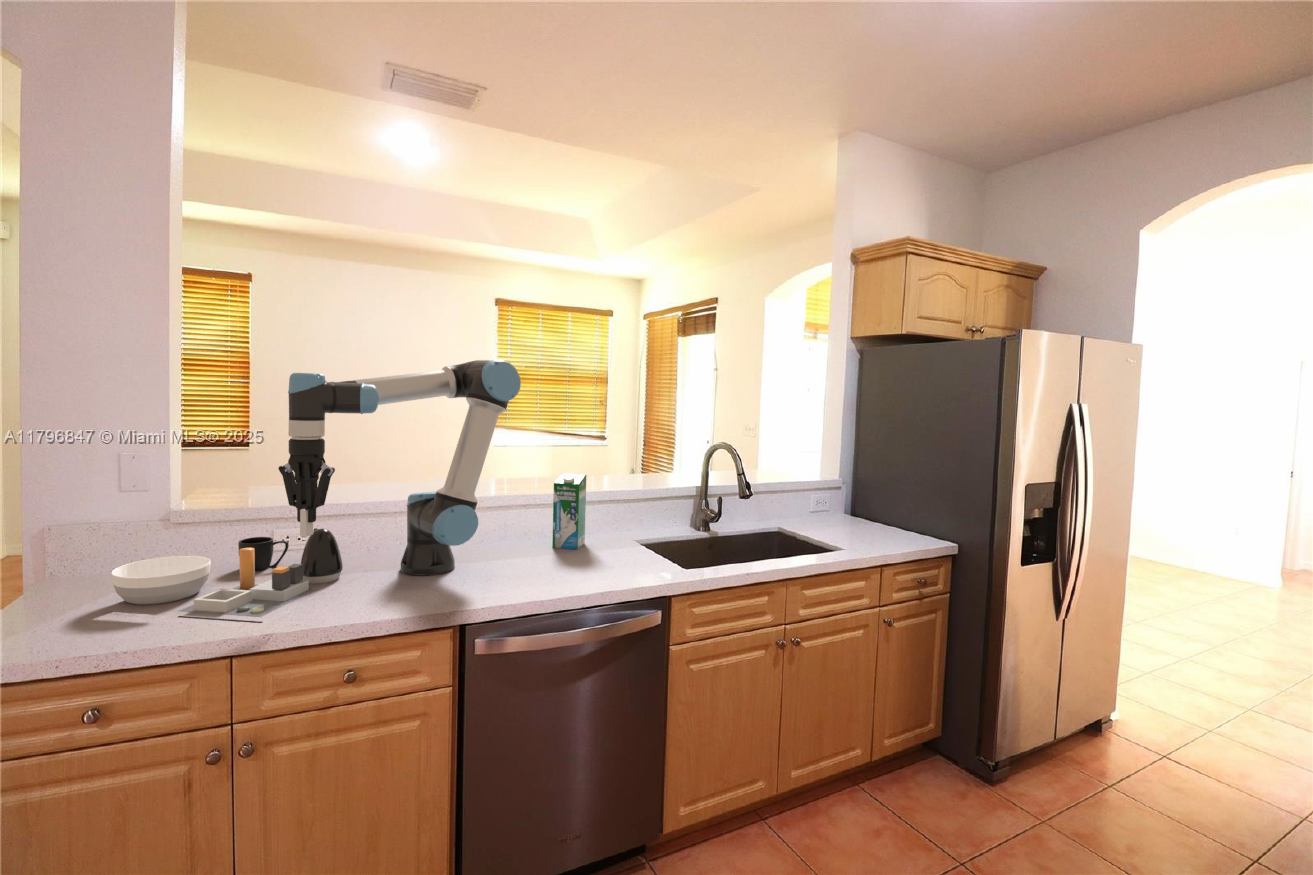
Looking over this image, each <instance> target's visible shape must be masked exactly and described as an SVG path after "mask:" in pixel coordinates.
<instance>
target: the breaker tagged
mask: <svg viewBox="0 0 1313 875" xmlns="http://www.w3.org/2000/svg"><path fill="white" fill-rule="evenodd" d="M271 569H272V570H271V572H272V573H271V580H272V589H277V590H282V589H284V588H287V587H289V586H290V570H289V567H288V566H276V567H275V568H271Z"/></svg>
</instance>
